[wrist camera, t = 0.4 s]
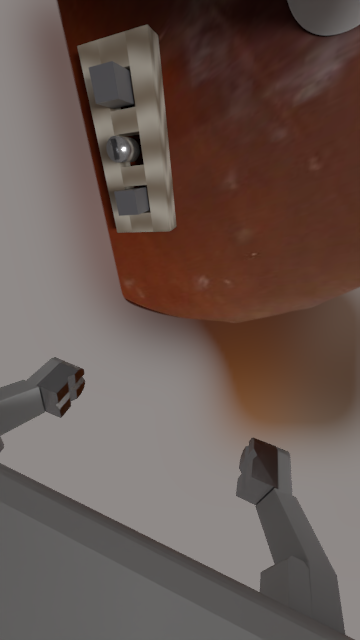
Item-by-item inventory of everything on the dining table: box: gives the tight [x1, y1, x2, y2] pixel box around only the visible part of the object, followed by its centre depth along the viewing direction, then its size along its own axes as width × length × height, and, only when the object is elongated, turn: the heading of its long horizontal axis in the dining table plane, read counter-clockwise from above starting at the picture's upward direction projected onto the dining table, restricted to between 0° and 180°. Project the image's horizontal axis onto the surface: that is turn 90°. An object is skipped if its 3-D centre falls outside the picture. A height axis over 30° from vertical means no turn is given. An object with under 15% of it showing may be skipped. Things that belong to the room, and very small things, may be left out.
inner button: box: [89, 61, 134, 109], centre depth 38 cm, size 4×4×5 cm
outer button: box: [114, 187, 149, 216], centre depth 47 cm, size 4×4×5 cm
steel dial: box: [106, 136, 140, 163], centre depth 42 cm, size 4×4×6 cm
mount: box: [77, 25, 176, 233], centre depth 46 cm, size 28×12×4 cm, turn 5°
